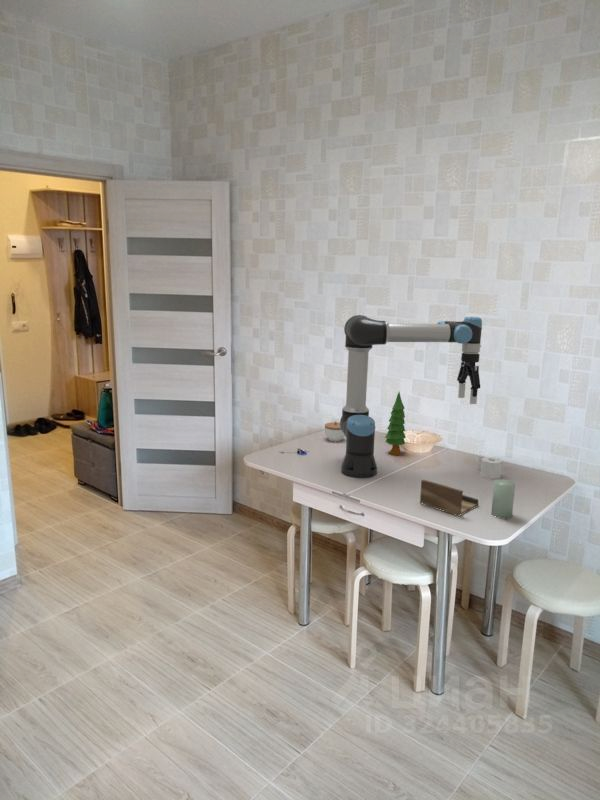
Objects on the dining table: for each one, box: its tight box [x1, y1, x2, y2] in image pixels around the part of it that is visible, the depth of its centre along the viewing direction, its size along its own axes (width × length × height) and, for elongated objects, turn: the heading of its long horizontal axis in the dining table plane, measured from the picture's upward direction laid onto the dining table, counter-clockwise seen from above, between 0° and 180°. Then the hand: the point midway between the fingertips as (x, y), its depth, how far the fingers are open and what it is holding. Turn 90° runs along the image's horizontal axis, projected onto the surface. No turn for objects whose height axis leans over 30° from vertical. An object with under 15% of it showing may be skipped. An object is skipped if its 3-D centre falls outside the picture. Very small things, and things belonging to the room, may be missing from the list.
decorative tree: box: [384, 391, 406, 456], centre depth 284 cm, size 10×9×30 cm
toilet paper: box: [477, 456, 503, 480], centre depth 258 cm, size 8×11×7 cm
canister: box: [490, 478, 516, 519], centre depth 216 cm, size 7×7×12 cm
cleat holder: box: [419, 479, 480, 516], centre depth 224 cm, size 14×16×9 cm
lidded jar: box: [324, 421, 346, 443], centre depth 305 cm, size 11×11×9 cm
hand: (466, 400), depth 270 cm, fingers open, 13 cm apart
